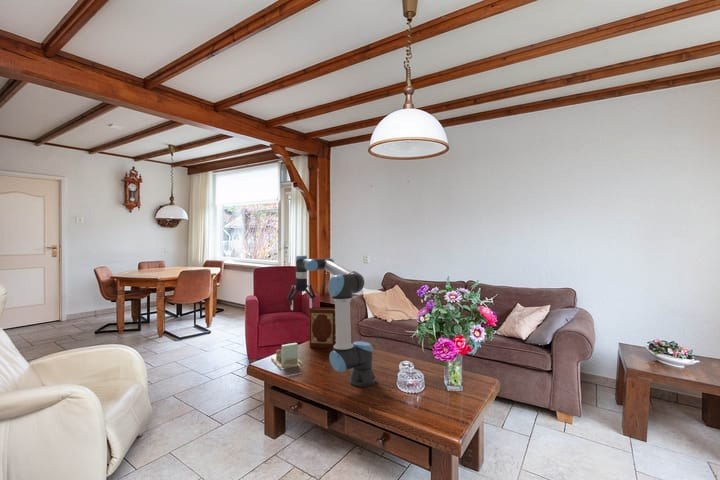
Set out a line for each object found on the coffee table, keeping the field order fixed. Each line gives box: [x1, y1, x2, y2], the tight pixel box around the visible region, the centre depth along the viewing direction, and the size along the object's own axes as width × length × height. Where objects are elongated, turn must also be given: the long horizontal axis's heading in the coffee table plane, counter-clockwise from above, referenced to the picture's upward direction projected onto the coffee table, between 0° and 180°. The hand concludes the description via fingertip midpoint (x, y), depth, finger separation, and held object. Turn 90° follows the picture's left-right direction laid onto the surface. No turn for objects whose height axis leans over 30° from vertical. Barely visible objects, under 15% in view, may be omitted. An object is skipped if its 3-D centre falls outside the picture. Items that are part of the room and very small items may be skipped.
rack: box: [270, 349, 303, 370], centre depth 229 cm, size 20×15×7 cm
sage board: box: [280, 342, 299, 368], centre depth 223 cm, size 3×10×14 cm, turn 121°
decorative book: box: [309, 306, 336, 349], centre depth 265 cm, size 22×8×30 cm, turn 84°
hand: (301, 308), depth 232 cm, fingers open, 13 cm apart
